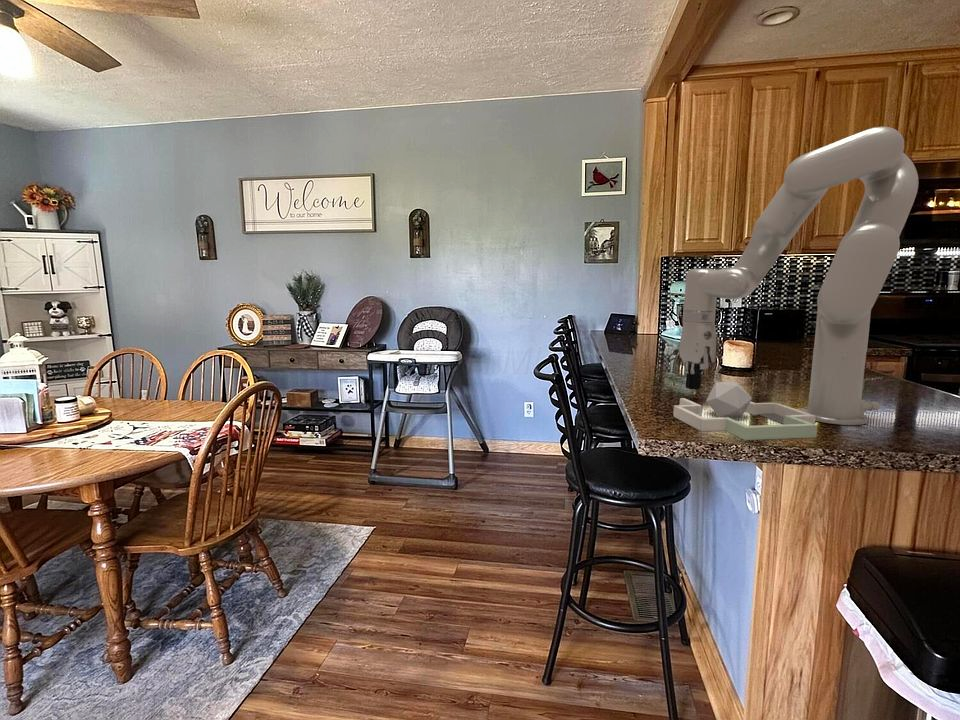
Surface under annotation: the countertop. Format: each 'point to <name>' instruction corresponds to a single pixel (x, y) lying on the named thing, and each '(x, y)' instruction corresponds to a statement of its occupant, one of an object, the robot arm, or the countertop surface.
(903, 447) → the countertop surface
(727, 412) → the die
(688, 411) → the dice tray
